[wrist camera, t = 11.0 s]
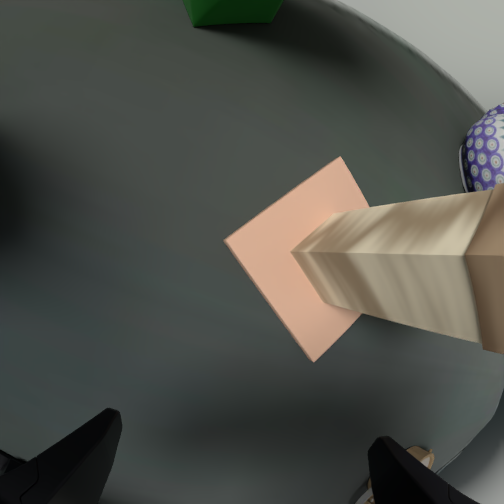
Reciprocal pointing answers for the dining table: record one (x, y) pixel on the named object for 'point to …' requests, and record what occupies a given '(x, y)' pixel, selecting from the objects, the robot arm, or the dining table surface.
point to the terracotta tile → (284, 264)
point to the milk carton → (231, 11)
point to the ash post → (417, 264)
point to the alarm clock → (424, 457)
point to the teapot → (484, 152)
